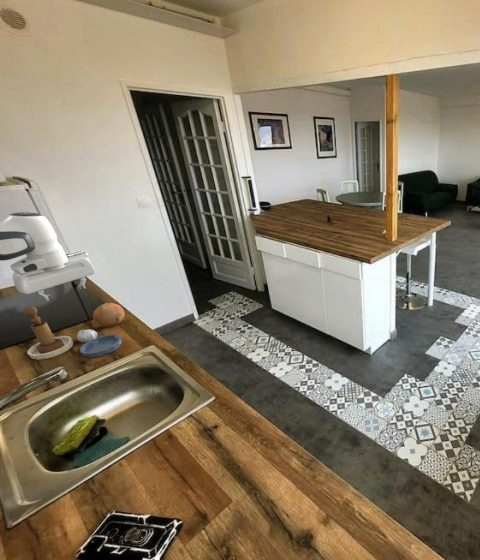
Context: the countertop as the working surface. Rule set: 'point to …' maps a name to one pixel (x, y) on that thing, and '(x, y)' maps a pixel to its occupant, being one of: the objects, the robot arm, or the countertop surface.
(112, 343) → the slate saucer
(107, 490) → the countertop surface
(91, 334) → the garlic
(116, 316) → the onion
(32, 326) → the mortar and pestle
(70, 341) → the cream saucer
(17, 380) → the countertop surface
